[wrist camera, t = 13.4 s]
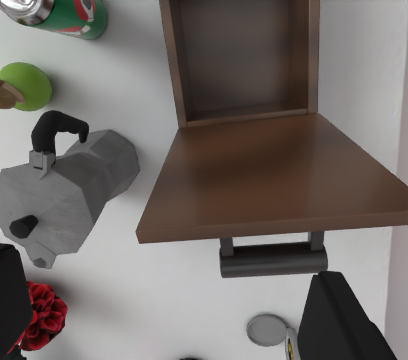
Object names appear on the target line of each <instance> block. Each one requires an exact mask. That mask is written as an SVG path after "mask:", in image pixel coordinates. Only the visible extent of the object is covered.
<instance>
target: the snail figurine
mask: <svg viewBox="0 0 408 360" xmlns="http://www.w3.org/2000/svg"><path fill="white" fill-rule="evenodd" d="M51 94H52V88H51V84H50V81H49V79H48V78H47V76H46V75H45V74H44V73H43V72H42V71H41V70H40V69H39V68H37V67H35V66H33V65H31V64H28V63H22V62H17V63H12V64H9V65H7V66H5V67H4V68H3V69H2V70H1V71H0V109H10V108H13V107H14V108H16V109H18V110H22V111H36V110H39V109H41V108H43V107H44V106H45V105H46V104H47V103H48V102H49V100H50V98H51Z"/></svg>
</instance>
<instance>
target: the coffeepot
mask: <svg viewBox="0 0 408 360" xmlns="http://www.w3.org/2000/svg"><path fill="white" fill-rule="evenodd" d="M67 131H68V132H69V133H72V134H77V133H78V134H79V140H78V141H77V142H76V143H75V144H74V145H73V146H71V147H70V148H69V149H68V150H67V151H66V153H65V154H64V155H62V156H57V157H56V151H55V135H56V134H57V132H67ZM31 138H32V144H33V149H34V150H32V151H29V163H28V164H23V165H19V166H15V167H11V168H6V169H2V170H1V172H0V227H1V229H2V231H3V233H4V235H5V237H7V238H9V239H11V240H12V241H14V242H16V243H18V244H20V245H21V246H23V247H25V250H26V252H27V254H28V256H29V258H30V260H31V261H32V262H33V264H34V265H35V266H37V267H39V268H46V269H51V267H52V265H53V263H54V261H55V258H56V256H57V255H59V254H69V253H77V251H78V250H79V248H80V247H81V246H82V244H83V243H84V241H85V239H86V238H87V236H88V235H89V233H90V232H91V230H92V228H93V227H94V225H95V223H96V221H97V219H98V217H99V216H100V214H101V212H102V210H103V208H104V206H105V204H106V202H108V201H110V200H111V199H113V198H114V197H116V196H118V195H119V194H121V193H122V192H124V191H126V190H127V189H128V188H129V186H130V185H131V183H132V182H133V180H134V179H135V177H136V176H137V174H138V173H139V171H140V168H139V164H138V158H137V155H136V152H135V150H134V146H133V145H132V144H131V143H130V142H128V141H127V140H126V139H124V138H123V137H122V136H120V135H118V134H116V133H114V132H113V131H112V130H104V131H97V132H92V133H89V125H88V124H87V122H84V121H82V120H79V119H77V118H74V117H71V116H69V115H66V114H64V113H62V112H59V111H55V110H51V111H48V112H45V113H44V114H43V115H42V116H41V117H40V119H39V120H38V122H37V124H36V126H35V127H34V129H33V131H32V134H31Z"/></svg>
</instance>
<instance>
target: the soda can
mask: <svg viewBox="0 0 408 360" xmlns="http://www.w3.org/2000/svg"><path fill="white" fill-rule="evenodd" d="M0 9H1V10H2V11H3V12H5V13H6V14H7V15H8V16H9V17H10V18H11V19H12V20H14V21H15V22H17V23H19V24H22V25H25V26H29V27H33V28H38V29H42V30H46V31H51V32H55V33H59V34H64V35H68V36H72V37H76V38H81V39H85V40H91V39H95V38H97V37H99V36H100V35H101V34H102V33H103V31H104V29H105V27H106V24H107V12H106V8H105V5H104V3H103V1H102V0H0Z"/></svg>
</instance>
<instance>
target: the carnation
mask: <svg viewBox="0 0 408 360" xmlns="http://www.w3.org/2000/svg"><path fill="white" fill-rule="evenodd" d="M26 283H27V287H28V291H29V296H30V300H31V304H32V308H33V317H32V320H31V322H30V324H29V325H28V327H27V328H26V329H25V331H24V332H23V333H22V335H21V336H20V337H19V339H18V340H17V341H16V343H15V344H14V345H13V346H12V348H11V349H10V350H9V352H8V353H7V354H6V356H5V357H4V358H3V360H27V358H26V357H23V356H22V355H21V349H22V350H23V351H32V350H34V351H35V350H39V349H41V348H42V347H43V346H45V345H46V344H48V343H49V342H50V341H51V340H52V339H53V338H54V337H55V336H57V335H58V334H59V333H60V332H61V331H62V329H63V328H64V326H65V317H66V313H67V310H68V307H67V305H66V304H65V302H64V301H62V300H61V299H60V298H59V297H58V296H56V295H55V294H54V290H53V289H52V287H51V286H50V285H46V284H44V285H43V284H40V283H38V284H35V283H33V282H31V281H26ZM21 340H22V341H21ZM20 341H21V344H20V346H19V345H18V344H19V343H20Z"/></svg>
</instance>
